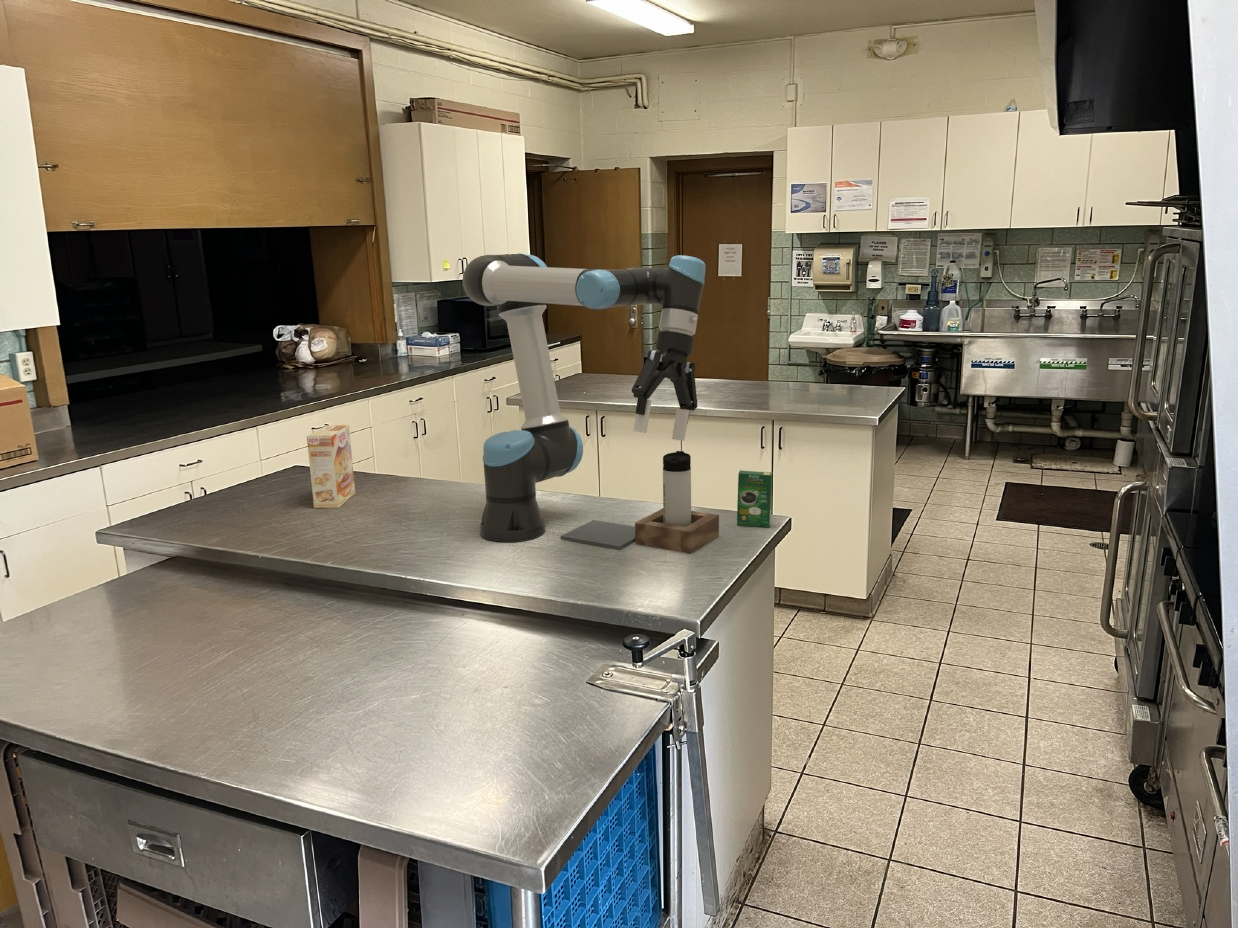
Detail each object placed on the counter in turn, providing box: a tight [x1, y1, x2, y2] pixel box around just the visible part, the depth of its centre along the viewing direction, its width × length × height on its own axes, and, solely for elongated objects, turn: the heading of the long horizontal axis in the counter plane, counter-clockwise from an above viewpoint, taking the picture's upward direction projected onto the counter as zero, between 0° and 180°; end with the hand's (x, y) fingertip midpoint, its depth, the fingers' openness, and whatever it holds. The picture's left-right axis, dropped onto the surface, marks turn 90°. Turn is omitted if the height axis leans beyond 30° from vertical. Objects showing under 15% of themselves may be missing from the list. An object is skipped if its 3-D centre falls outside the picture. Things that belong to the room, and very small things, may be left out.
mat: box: [559, 519, 635, 551], centre depth 204 cm, size 16×14×1 cm
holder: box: [634, 507, 720, 555], centre depth 199 cm, size 14×14×5 cm
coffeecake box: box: [306, 424, 356, 509], centre depth 237 cm, size 15×7×20 cm, turn 179°
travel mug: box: [662, 450, 692, 527], centre depth 197 cm, size 6×7×20 cm
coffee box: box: [736, 469, 773, 528], centre depth 207 cm, size 8×3×13 cm, turn 74°
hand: (659, 436), depth 180 cm, fingers open, 13 cm apart
